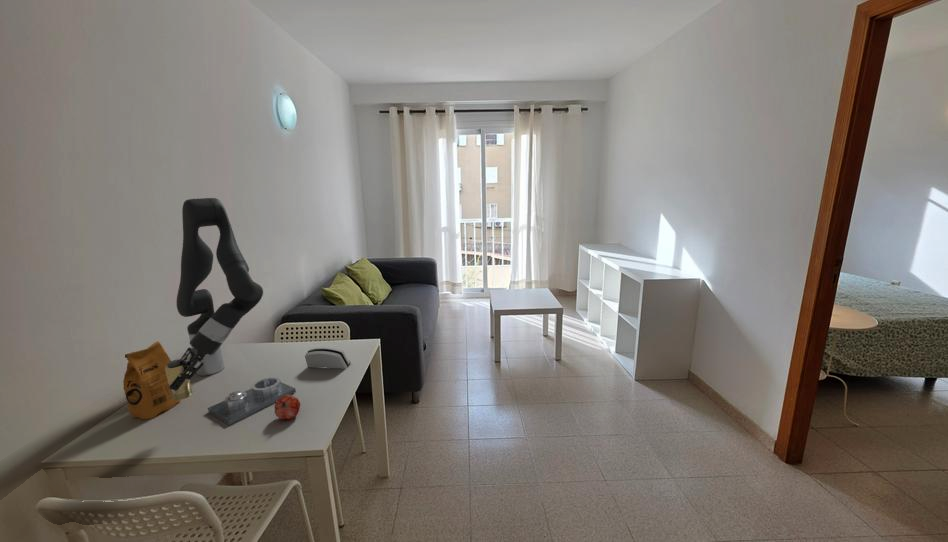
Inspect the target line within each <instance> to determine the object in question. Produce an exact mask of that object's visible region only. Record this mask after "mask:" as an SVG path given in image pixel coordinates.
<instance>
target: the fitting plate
mask: <svg viewBox="0 0 948 542" xmlns="http://www.w3.org/2000/svg"><path fill="white" fill-rule="evenodd" d="M294 392H295V393H296V392H297V391H296V387H293V386H291V385H288V384H286V383H284V382H282V381H281V378H279V377H278V376H269V377H264V378H261V379H259V380H257V381H255V382H254V383H253V384H252V385H251V388H249V389H248V390H245V391H242V390H236V391H233V392H231V393H229V395H228V396H227V397H225V400H223V401H221V402H219V403H217V404H214V405H211V406H210V407H208V408H207V413H208V414H210V415H212V416H214V417H216V418H217V419H219V420H220V421H222V422H224V423H225V424H227V425H228V426H232V425H233V424H235V423H237V422H239V421H241V420H243V419H245V418H247V417H249V416H251V415H253V414H255V413H257V412H259V411H262V410H263V409H265V408H267V407H270V406H271V405H273V404H276V401H278V400H279V399H280V398H281V397H282V396H284V395H290V394H291V395H292V393H293V394H295V393H294Z"/></svg>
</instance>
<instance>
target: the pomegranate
mask: <svg viewBox="0 0 948 542" xmlns="http://www.w3.org/2000/svg"><path fill="white" fill-rule="evenodd" d="M300 408H301V402H300V399H298V398H297V397H295V396H293V395H292V394H291V395H284V396H282V397H281V398H280V399H279V400H278V401H277V402H275V403H274V414H275V416H276V417H277V418H278V419H280V420H292V419H295V418H296V416H297V415H298V414H299V412H300Z"/></svg>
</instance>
